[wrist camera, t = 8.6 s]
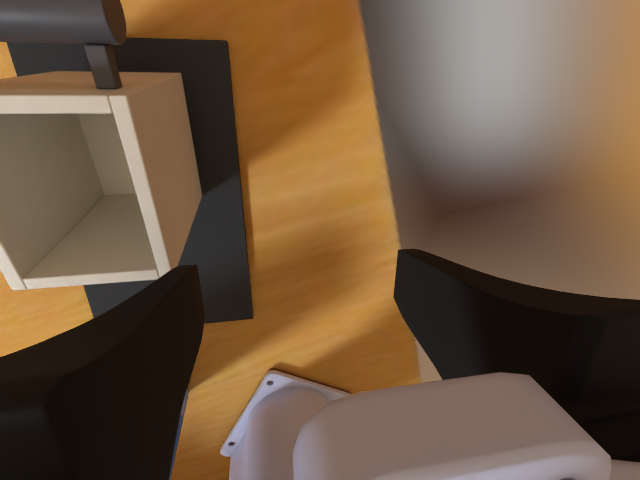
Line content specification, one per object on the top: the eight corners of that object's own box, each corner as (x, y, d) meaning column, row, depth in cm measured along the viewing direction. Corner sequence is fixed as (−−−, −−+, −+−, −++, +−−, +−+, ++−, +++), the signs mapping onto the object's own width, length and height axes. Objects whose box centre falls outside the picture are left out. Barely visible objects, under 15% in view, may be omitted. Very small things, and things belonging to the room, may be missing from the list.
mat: (253, 315, 23) (253, 319, 23) (101, 330, 22) (98, 334, 22) (227, 41, 17) (227, 40, 17) (9, 35, 15) (3, 34, 15)
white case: (173, 278, 13) (94, -33, 8) (11, 291, 12) (-191, -50, 7) (202, 195, 19) (168, 2, 15) (101, 200, 18) (29, -5, 14)
